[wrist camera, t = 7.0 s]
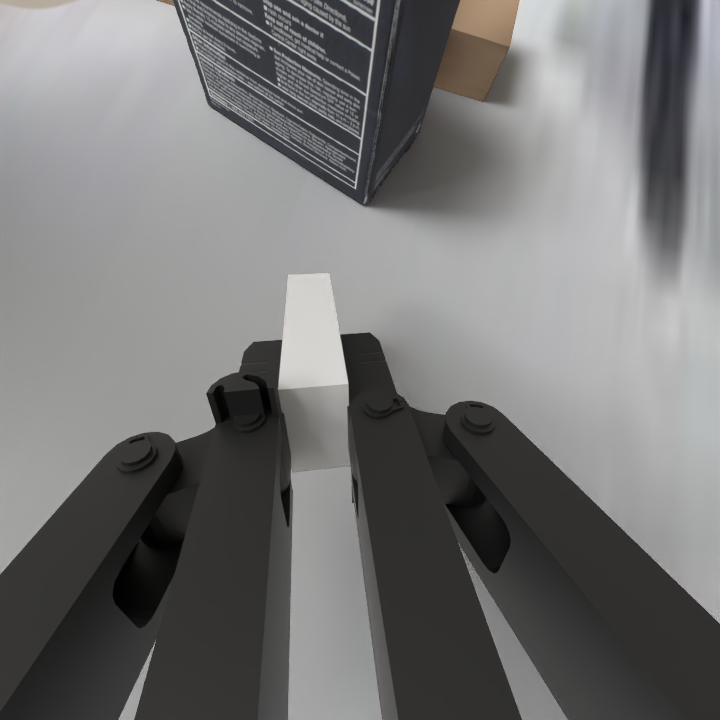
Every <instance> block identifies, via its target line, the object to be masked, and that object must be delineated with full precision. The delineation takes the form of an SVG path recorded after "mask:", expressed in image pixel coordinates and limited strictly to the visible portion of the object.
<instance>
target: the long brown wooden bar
mask: <svg viewBox="0 0 720 720" xmlns="http://www.w3.org/2000/svg"><path fill="white" fill-rule="evenodd" d="M157 1H160V2H164V3H167V4H170V5H173V6H175V5H174V2H173V0H157ZM518 5H519V0H460V3H459V6H458V9H457V12H456V15H455V18H454V22H453V25H452V28H451V31H450V35H449V38H448V40H447V44H446V47H445V50H444V54H443V57H442V61H441V63H440V67H439V70H438V73H437V76H436V79H435V82H434V85H433V86H434V87H437V88H440V89H443V90H446V91H450V92H453V93H456V94H459V95H462V96H466V97H469V98H472V99H475V100H479V101H482V102H483V100H484V98H485V96H486V94H487V92H488V90H489V88H490V86H491V84H492V82H493V80H494V78H495V76H496V74H497V72H498V70H499V68H500V66H501V63H502V61H503V59H504V57H505V55H506V53H507V51H508V49H509V47H510V42H511V38H512V33H513V28H514V24H515V19H516V14H517V10H518Z"/></svg>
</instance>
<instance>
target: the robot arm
mask: <svg viewBox="0 0 720 720" xmlns="http://www.w3.org/2000/svg"><path fill="white" fill-rule="evenodd" d="M206 394H207V397H208V400H209V403H210V407H211V410H212V413H213V416H214V419H215V422H216V425H215V428H213V429H211V430H210V431H208V432H206V433H204V434H201V435H199V436H196V437H193V438H190V439H187V440H184V441H181V442H178V443H175V441H174V440H173V439H172V438H171V437H170V436H169V435H167V434H164V433H160V432H149V433H143V434H139V435H136V436H133V437H130V438H128V439H126V440H125V441H123V442H121V443H119V444H117V445H116V446H115V447H114V448H113V449H112V450H110V451H109V452H108V453H107V454H106V455H105V456H104V457H103V458H102V460H101V461H100V462H99V463H98V464H97V465H96V466H95V467H94V469H93V470H92V471H91V472H90V473H89V474H88V475H87V477H86V478H85V479H84V480H83V481H82V482H81V483H80V485H79V486H78V487H77V488H76V489H75V490H74V491H73V493H72V494H71V495H70V496H69V497H68V498H67V499H66V501H65V502H64V503H63V504H62V505H61V506H60V507H59V508H58V510H57V511H56V512H55V513H54V514H53V515H52V516H51V518H50V519H49V520H48V521H47V522H46V523H45V524H44V526H43V527H42V528H41V529H40V530H39V531H38V532H37V534H36V535H35V536H34V537H33V538H32V539H31V540H30V541H29V543H28V544H27V545H26V546H25V547H24V548H23V549H22V551H21V552H20V553H19V554H18V555H17V556H16V557H15V559H14V560H13V561H12V562H11V563H10V564H9V565H8V567H7V568H6V569H5V570H4V571H3V572H2V573H1V574H0V720H118V719H119V717H120V714H121V712H122V710H123V708H124V706H125V704H126V702H127V700H128V698H129V695H130V693H131V691H132V689H133V687H134V685H135V683H136V681H137V679H138V676H139V674H140V672H141V670H142V668H143V666H144V664H145V662H146V660H147V657H148V655H149V653H150V651H151V649H152V647H153V645H154V643H155V641H156V643H155V647H154V650H153V654H152V658H151V661H150V665H149V668H148V672H147V676H146V679H145V683H144V687H143V690H142V694H141V697H140V701H139V705H138V708H137V712H136V716H135V719H134V720H288V683H289V638H290V594H291V549H292V504H293V490H292V485H291V479H290V477H291V468H292V472H299V471H308V470H318V469H327V468H336V467H345V466H351V474H352V503H354V506H355V513H356V521H357V529H358V537H359V544H360V552H361V560H362V567H363V575H364V583H365V590H366V598H367V606H368V614H369V621H370V629H371V637H372V644H373V652H374V660H375V667H376V675H377V683H378V691H379V698H380V706H381V714H382V720H522V719H521V716H520V713H519V711H518V708H517V705H516V702H515V699H514V697H513V694H512V691H511V688H510V686H509V683H508V680H507V677H506V674H505V672H504V669H503V666H502V663H501V661H500V658H499V655H498V652H497V650H496V647H495V644H494V641H493V638H492V636H491V633H490V630H489V627H488V625H487V622H486V619H485V616H484V613H483V611H482V608H481V605H480V602H479V600H478V597H477V594H476V591H475V588H474V586H473V583H472V580H471V577H470V575H469V572H468V569H467V566H466V563H465V561H464V558H463V555H462V552H461V550H460V547H459V544H460V546H461V548H462V549H463V551H464V552H465V554H466V556H467V557H468V559H469V561H470V562H471V564H472V565H473V567H474V569H475V570H476V572H477V573H478V575H479V577H480V578H481V580H482V581H483V583H484V585H485V586H486V588H487V590H488V591H489V593H490V594H491V596H492V598H493V599H494V601H495V602H496V604H497V606H498V607H499V609H500V611H501V612H502V614H503V615H504V617H505V619H506V620H507V622H508V623H509V625H510V627H511V628H512V630H513V632H514V633H515V635H516V636H517V638H518V640H519V641H520V643H521V644H522V646H523V648H524V649H525V651H526V652H527V654H528V656H529V657H530V659H531V661H532V662H533V664H534V665H535V667H536V669H537V670H538V672H539V673H540V675H541V677H542V678H543V680H544V682H545V683H546V685H547V686H548V688H549V690H550V691H551V693H552V694H553V696H554V698H555V699H556V701H557V703H558V704H559V706H560V707H561V709H562V711H563V712H564V714H565V715H566V717H567V719H568V720H720V624H719V623H718V622H717V621H716V620H715V619H714V618H713V617H712V616H711V615H710V614H709V613H708V612H707V611H706V610H705V609H704V608H703V607H702V606H701V605H700V604H699V603H698V602H697V601H696V600H695V599H693V598H692V597H691V596H690V595H689V594H688V593H687V592H686V591H685V590H684V589H683V588H682V587H681V586H680V585H679V584H678V583H677V582H676V581H675V580H674V579H673V578H672V577H671V576H670V575H669V574H668V573H667V572H666V571H665V570H664V569H662V568H661V567H660V566H659V565H658V564H657V563H656V562H655V561H654V560H653V559H652V558H651V557H650V556H649V555H648V554H647V553H646V552H645V551H644V550H643V549H642V548H641V547H640V546H639V545H638V544H637V543H636V542H635V541H634V540H632V539H631V538H630V537H629V536H628V535H627V534H626V533H625V532H624V531H623V530H622V529H621V528H620V527H619V526H618V525H617V524H616V523H615V522H614V521H613V520H612V519H611V518H610V517H609V516H608V515H607V514H606V513H605V512H604V511H603V510H601V509H600V508H599V507H598V506H597V505H596V504H595V503H594V502H593V501H592V500H591V499H590V498H589V497H588V496H587V495H586V494H585V493H584V492H583V491H582V490H581V489H580V488H579V487H578V486H577V485H576V484H575V483H574V482H573V481H571V480H570V479H569V478H568V477H567V476H566V475H565V474H564V473H563V472H562V471H561V470H560V469H559V468H558V467H557V466H556V465H555V464H554V463H553V462H552V461H551V460H550V459H549V458H548V457H547V456H546V455H545V454H544V453H543V452H542V451H540V450H539V449H538V448H537V447H536V446H535V445H534V444H533V443H532V442H531V441H530V440H529V439H528V438H527V437H526V436H525V435H524V434H523V433H522V432H521V431H520V430H519V429H518V428H517V427H516V426H515V425H514V424H513V423H512V422H510V421H509V420H508V419H507V418H506V417H505V416H504V415H503V414H502V413H501V412H499V411H498V410H497V409H495V408H494V407H492V406H489V405H487V404H484V403H482V402H474V401H465V402H459V403H457V404H455V405H453V406H451V407H450V408H449V410H448V411H447V412H446V415H441V414H434V413H428V412H423V411H419V410H416V409H414V408H412V407H410V406H409V405H408V404H407V402H406V401H405V399H404V398H403V397H401V396H400V395H398V394H397V392H396V389H395V386H394V383H393V380H392V377H391V374H390V371H389V369H388V366H387V363H386V361H385V357H384V354H383V351H382V348H381V345H380V342H379V340H377V339H376V338H375V337H374V336H373V335H372V334H371V333H358V334H344V335H340V332H339V326H338V320H337V314H336V308H335V302H334V296H333V290H332V285H331V279H330V273H316V274H296V275H288V282H287V294H286V305H285V316H284V327H283V339H282V340H274V341H260V342H253V343H252V344H251V345H250V346H249V347H248V348H247V349H246V350H245V352H244V354H243V358H242V365H241V367H240V371H239V372H238V373H233V374H230V375H228V376H225V377H223V378H221V379H219V380H218V381H217V382H215V383H214V384H213V385H212V386H211V387H210V389H209V390H208V392H207V393H206ZM458 543H459V544H458ZM156 638H157V639H156Z"/></svg>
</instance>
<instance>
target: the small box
mask: <svg viewBox="0 0 720 720" xmlns="http://www.w3.org/2000/svg"><path fill="white" fill-rule="evenodd" d="M173 2H174V5H175V8H176V10H177V14H178V17H179V19H180V22H181V25H182V28H183V31H184V33H185V36H186V38H187V42H188V45H189V49H190V51H191V54H192V56H193V59H194V62H195V65H196V68H197V71H198V74H199V77H200V81H201V83H202V86H203V89H204V92H205V96H206V99H207V103H208V105H209V106H211V107H212V108H214V109H215V110H217V111H218V112H220V113H221V114H223V115H224V116H226V117H227V118H229V119H230V120H232V121H233V122H235V123H237V124H238V125H240V126H241V127H243V128H244V129H246V130H247V131H249V132H251V133H252V134H254V135H255V136H257V137H258V138H260V139H262V140H263V141H264V142H266V143H268V144H269V145H271V146H272V147H274V148H275V149H277V150H278V151H280V152H282V153H283V154H285V155H286V156H288V157H289V158H291V159H292V160H294V161H295V162H297V163H299V164H300V165H302V166H303V167H305V168H306V169H308V170H310V171H311V172H313V173H314V174H316V175H317V176H319V177H320V178H322V179H324V180H325V181H326V182H328V183H330V184H331V185H333V186H334V187H336V188H338V189H339V190H341V191H342V192H344V193H346V194H347V195H348V196H350V197H352V198H353V199H355V200H356V201H358V202H359V203H361V204H365V203H368V202H369V201H370V200H371V198H373V196H374V194H375V193H376V190H377V188H378V187H379V186H381V185H382V182H383V180H384V179H385V178H386V176H387V175H388V174H389V173H390V171H391V169H392V168H393V167H394V165H395V164H396V163H397V162H398V161H399V159H400V158H401V156H402V155H403V154H404V153H405V152H407V151H408V149H409V147H410V146H411V144H412V143H413V141H414V139H415V137H416V136H417V134H418V133H419V131H420V129H421V125H422V121H423V118H424V115H425V111H426V108H427V105H428V102H429V99H430V95H431V92H432V89H433V85H434V82H435V79H436V76H437V73H438V70H439V67H440V63H441V61H442V57H443V54H444V50H445V47H446V44H447V40H448V38H449V35H450V31H451V28H452V25H453V22H454V18H455V15H456V12H457V9H458V6H459V3H460V0H173Z"/></svg>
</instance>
